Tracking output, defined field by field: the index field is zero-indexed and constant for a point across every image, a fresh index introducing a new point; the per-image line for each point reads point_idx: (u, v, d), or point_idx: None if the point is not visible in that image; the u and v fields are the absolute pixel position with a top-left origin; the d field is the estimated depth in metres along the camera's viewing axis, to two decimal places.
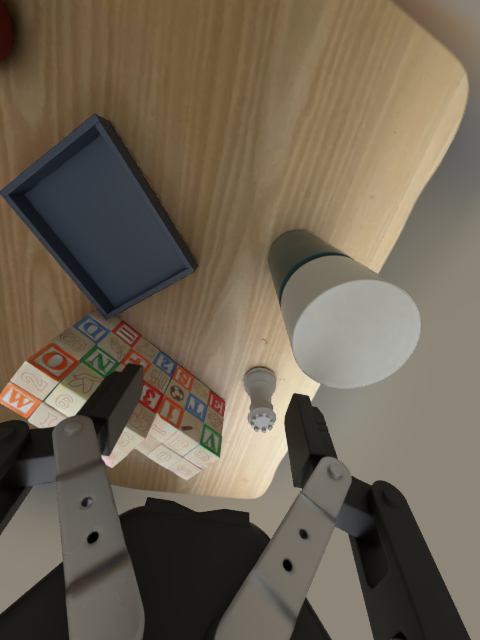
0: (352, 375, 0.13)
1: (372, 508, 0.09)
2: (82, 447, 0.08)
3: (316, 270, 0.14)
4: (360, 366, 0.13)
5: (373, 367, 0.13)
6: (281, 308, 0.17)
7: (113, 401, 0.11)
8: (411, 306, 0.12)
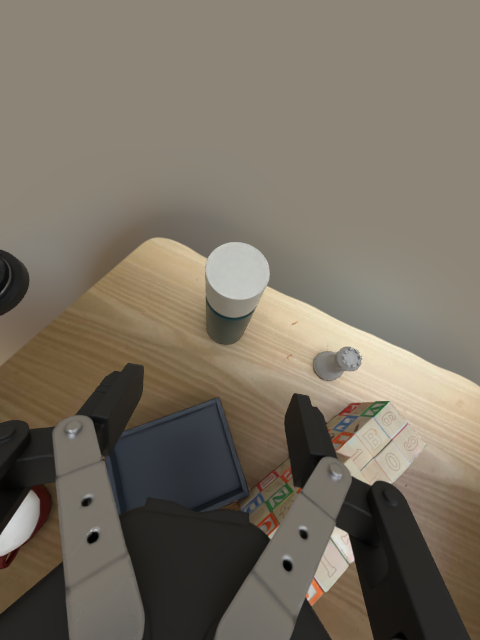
0: (260, 271, 0.24)
1: (372, 508, 0.09)
2: (82, 447, 0.08)
3: (207, 292, 0.26)
4: (255, 267, 0.24)
5: (256, 262, 0.24)
6: (232, 316, 0.27)
7: (113, 401, 0.11)
8: (223, 246, 0.25)
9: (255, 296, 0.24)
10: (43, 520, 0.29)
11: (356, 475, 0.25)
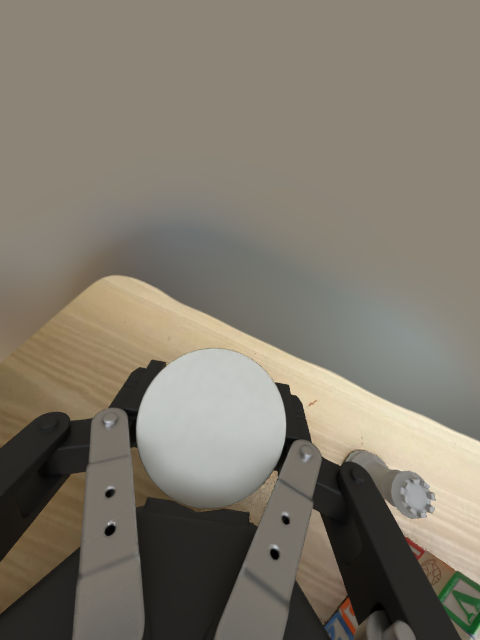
0: (265, 422, 0.11)
1: (339, 486, 0.09)
2: (120, 437, 0.09)
3: None
4: (252, 413, 0.11)
5: (255, 397, 0.11)
6: None
7: (143, 395, 0.11)
8: (181, 360, 0.11)
9: None
10: None
11: None
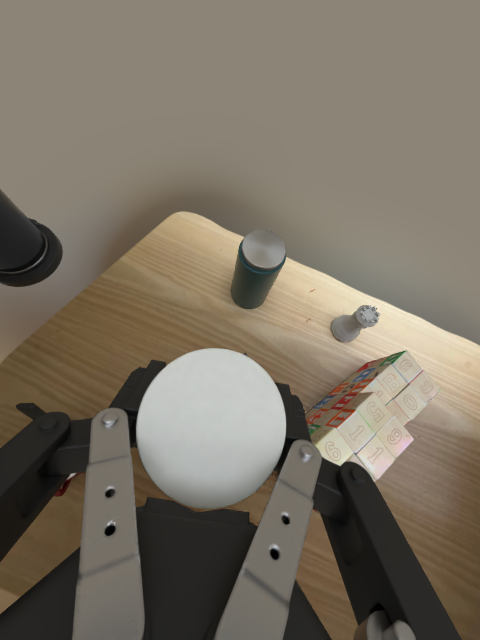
0: (265, 423, 0.11)
1: (339, 486, 0.09)
2: (120, 437, 0.09)
3: None
4: (252, 413, 0.11)
5: (255, 397, 0.11)
6: None
7: (143, 395, 0.11)
8: (182, 360, 0.11)
9: None
10: None
11: (380, 407, 0.28)
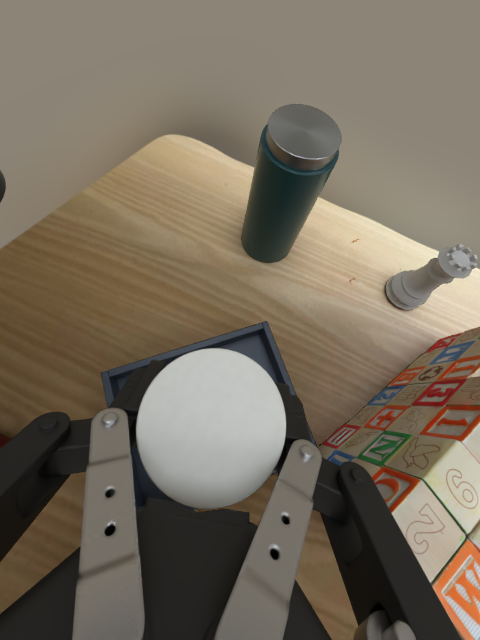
0: (265, 423, 0.11)
1: (339, 486, 0.09)
2: (120, 437, 0.09)
3: None
4: (252, 413, 0.11)
5: (255, 397, 0.11)
6: None
7: (142, 395, 0.11)
8: (181, 360, 0.11)
9: None
10: None
11: None
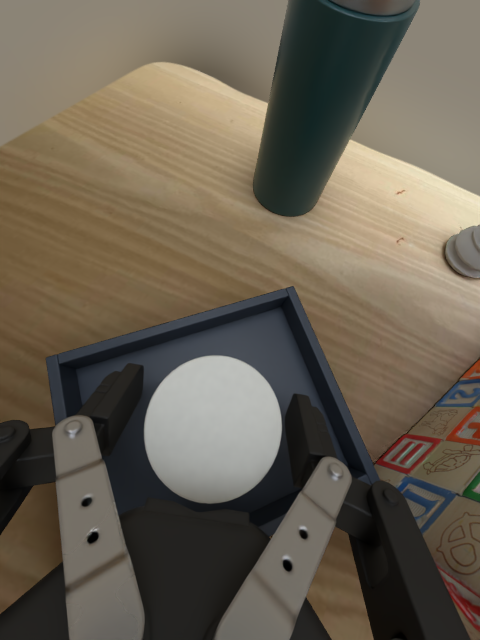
0: (262, 424, 0.11)
1: (372, 508, 0.09)
2: (82, 447, 0.08)
3: None
4: (251, 415, 0.12)
5: (253, 400, 0.12)
6: None
7: (113, 401, 0.11)
8: (185, 367, 0.12)
9: None
10: None
11: None
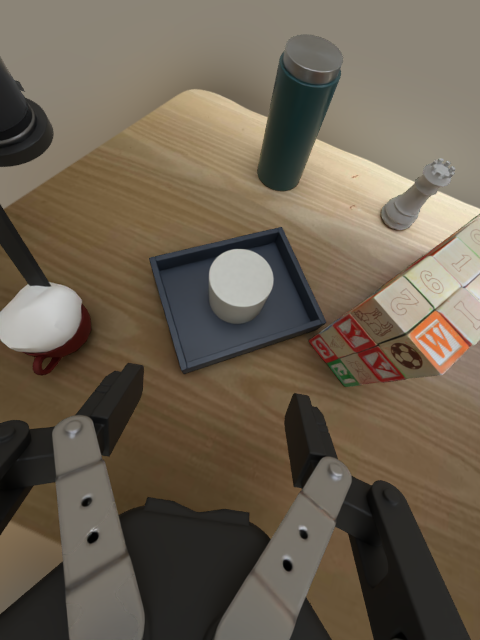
0: (264, 278, 0.24)
1: (372, 508, 0.09)
2: (82, 447, 0.08)
3: (210, 298, 0.26)
4: (258, 274, 0.24)
5: (259, 268, 0.24)
6: (235, 323, 0.27)
7: (113, 401, 0.11)
8: (226, 252, 0.24)
9: (259, 303, 0.23)
10: (84, 331, 0.24)
11: None
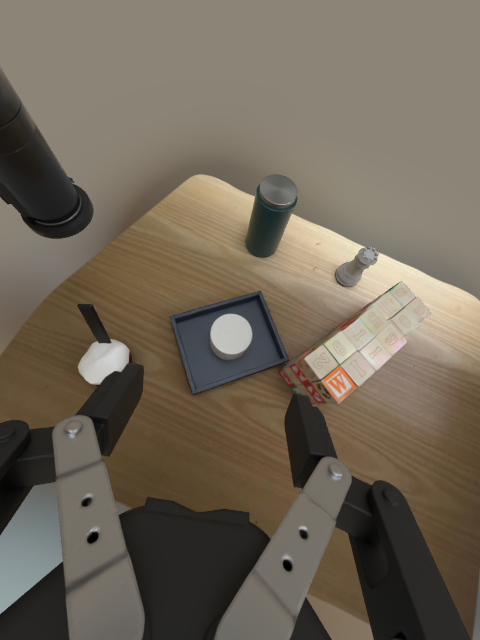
0: (246, 334, 0.37)
1: (372, 508, 0.09)
2: (82, 447, 0.08)
3: (211, 344, 0.39)
4: (242, 331, 0.37)
5: (243, 327, 0.37)
6: None
7: (113, 401, 0.11)
8: (221, 317, 0.37)
9: (242, 351, 0.36)
10: None
11: (378, 316, 0.33)
